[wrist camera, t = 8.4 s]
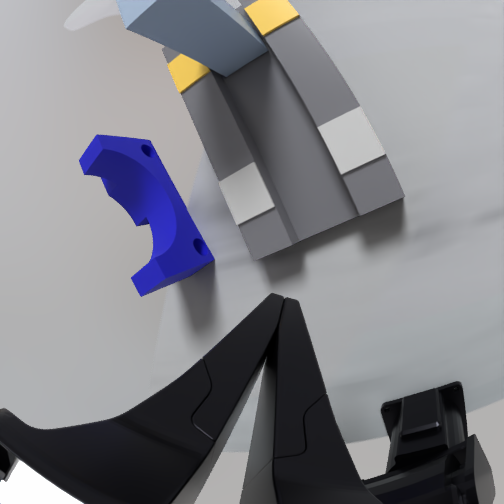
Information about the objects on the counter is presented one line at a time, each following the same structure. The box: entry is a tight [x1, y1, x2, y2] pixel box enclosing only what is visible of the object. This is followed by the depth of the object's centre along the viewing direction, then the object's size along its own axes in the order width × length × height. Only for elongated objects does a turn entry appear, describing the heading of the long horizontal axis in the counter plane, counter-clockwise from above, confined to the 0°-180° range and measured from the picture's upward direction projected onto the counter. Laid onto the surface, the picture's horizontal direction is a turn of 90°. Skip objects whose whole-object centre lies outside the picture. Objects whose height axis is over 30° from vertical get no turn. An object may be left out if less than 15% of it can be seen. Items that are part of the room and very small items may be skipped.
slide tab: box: [116, 0, 268, 77], centre depth 14 cm, size 3×4×10 cm
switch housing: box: [162, 0, 405, 261], centre depth 19 cm, size 18×10×3 cm, turn 26°
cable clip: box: [79, 135, 215, 297], centre depth 23 cm, size 12×4×6 cm, turn 34°
